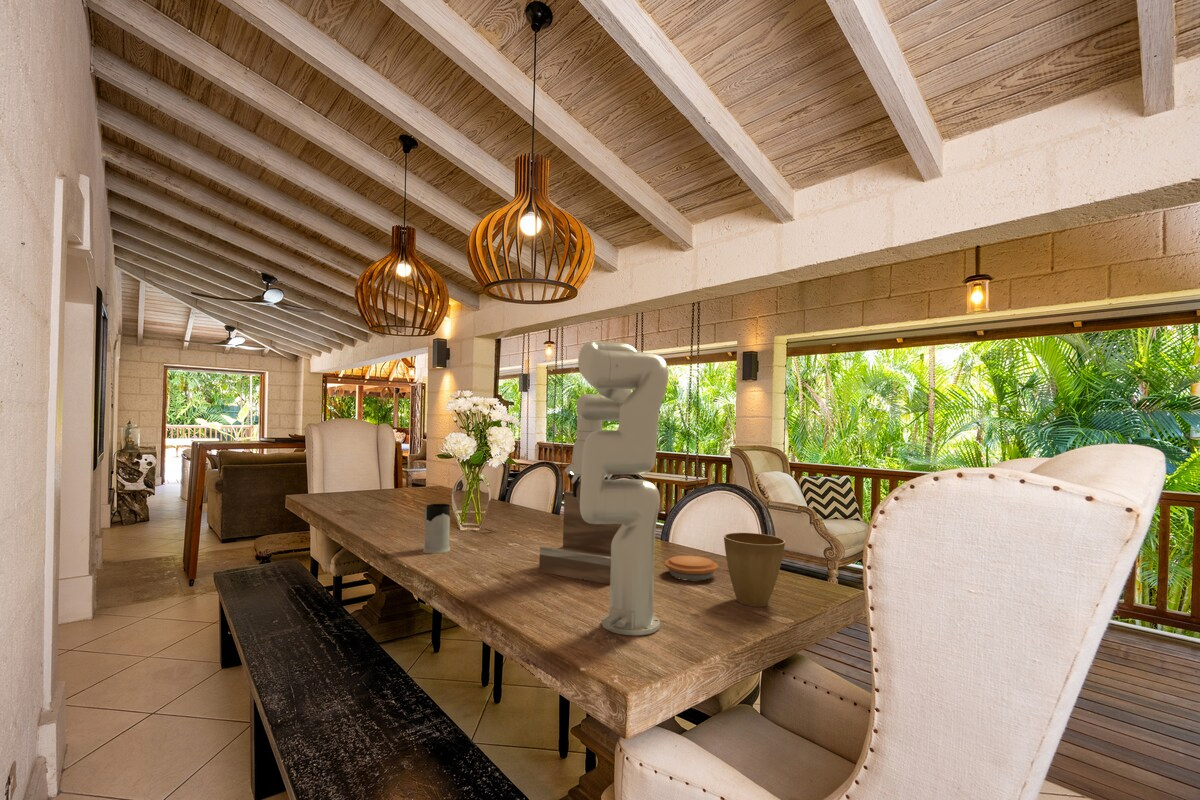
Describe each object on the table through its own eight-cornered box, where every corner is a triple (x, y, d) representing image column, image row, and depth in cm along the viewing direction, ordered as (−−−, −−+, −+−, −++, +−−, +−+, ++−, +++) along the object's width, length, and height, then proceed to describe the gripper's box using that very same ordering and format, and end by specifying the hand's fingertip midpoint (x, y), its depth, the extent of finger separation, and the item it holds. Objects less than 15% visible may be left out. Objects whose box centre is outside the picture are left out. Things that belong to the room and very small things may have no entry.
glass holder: (429, 554, 181) (431, 508, 182) (412, 546, 192) (413, 502, 192) (454, 551, 187) (456, 506, 188) (436, 543, 198) (437, 500, 198)
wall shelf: (611, 584, 152) (613, 503, 153) (539, 571, 164) (541, 496, 165) (634, 573, 165) (636, 497, 166) (565, 561, 177) (567, 491, 178)
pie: (673, 566, 174) (674, 550, 174) (723, 573, 167) (723, 556, 167) (656, 578, 160) (657, 561, 160) (710, 586, 153) (710, 568, 153)
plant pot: (756, 616, 130) (757, 546, 131) (710, 598, 143) (711, 535, 143) (797, 605, 138) (797, 540, 139) (750, 589, 151) (751, 530, 151)
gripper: (621, 438, 165) (619, 499, 164) (571, 436, 173) (569, 493, 173) (609, 438, 158) (607, 502, 158) (557, 436, 167) (556, 496, 166)
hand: (587, 497), depth 165 cm, fingers closed on vase, 6 cm apart
